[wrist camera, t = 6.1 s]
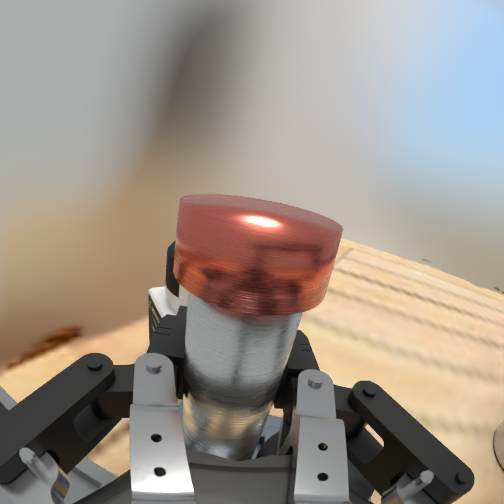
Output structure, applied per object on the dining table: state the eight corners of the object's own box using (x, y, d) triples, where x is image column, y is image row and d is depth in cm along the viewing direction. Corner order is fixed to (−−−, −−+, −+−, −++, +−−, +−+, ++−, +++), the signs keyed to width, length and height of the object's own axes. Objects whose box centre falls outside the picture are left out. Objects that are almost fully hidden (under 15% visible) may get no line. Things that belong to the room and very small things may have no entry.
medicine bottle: (149, 352, 24) (150, 229, 20) (215, 341, 28) (231, 228, 24) (175, 408, 18) (179, 266, 14) (252, 386, 22) (282, 259, 18)
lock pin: (262, 444, 14) (334, 215, 10) (246, 504, 9) (355, 248, 5) (191, 424, 14) (212, 190, 10) (163, 478, 10) (146, 204, 6)
